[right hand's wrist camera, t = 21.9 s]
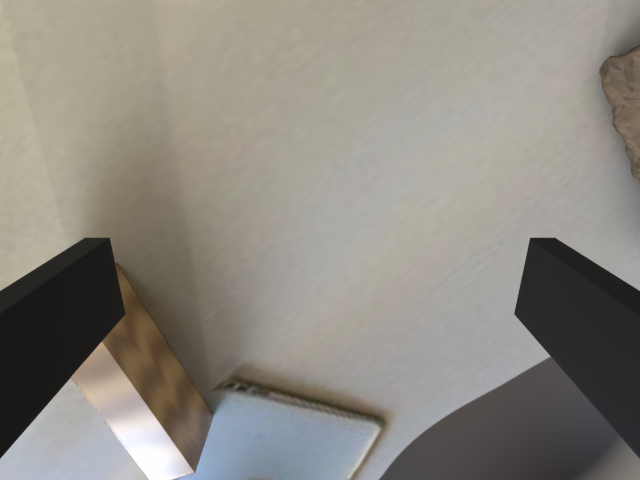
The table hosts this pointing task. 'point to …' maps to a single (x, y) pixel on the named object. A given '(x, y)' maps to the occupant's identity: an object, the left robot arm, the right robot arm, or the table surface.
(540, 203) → the table surface
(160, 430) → the bar
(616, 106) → the stone
